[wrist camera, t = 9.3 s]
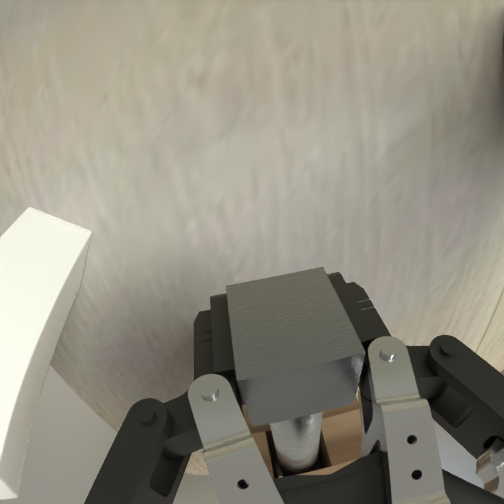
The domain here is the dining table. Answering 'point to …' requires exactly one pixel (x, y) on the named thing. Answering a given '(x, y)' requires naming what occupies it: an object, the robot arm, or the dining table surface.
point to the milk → (32, 322)
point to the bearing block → (330, 445)
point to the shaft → (293, 359)
